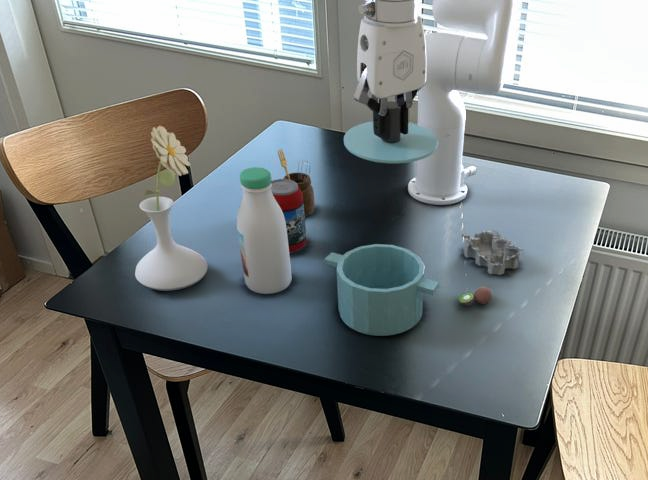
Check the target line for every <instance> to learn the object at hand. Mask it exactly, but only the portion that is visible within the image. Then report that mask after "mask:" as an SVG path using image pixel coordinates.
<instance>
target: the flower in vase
mask: <svg viewBox="0 0 648 480" xmlns="http://www.w3.org/2000/svg"><path fill="white" fill-rule="evenodd" d="M150 134H151V137H152V138H150V141H151V144H152V149H153V150H154V152H155V155H156V156H157V157H156V158H158V159H159V163H158V167H157V175H156V190H149V189H146V191H145V193H143V194H144V196H147V195H155V196H152V197H148V198H146V199H143V200H142V201H141V202H140V203H139V209H140V210H142V211H143V212H144V213H145V214H146V215H147V216H148V217H149V219H150V221H151V223H152V225H153V228H154V232H155V234H156V235H155V237H156V246H155V247H154V248H153V249H151V250H150V251H148V253H146V254H145V255H144V256H143V257H142V258H140V260H139V261H138V263H137V264H136V266H135V271H134V277H135V279H136V280H137V281H138V282H139V283H140V284H141V285H143V286H144V287H145V288H148V289H150V290H155V291H162V292H164V291H167V292H168V291H177V290H178V291H179V290H182V289H185V288H188V287H191V286H193V285H195V284H197V283H198V282H200V281H201V280H202V279H203V278H204V277H205V275H206V273H207V272H208V266H209V265H208V263H207V261H206V259H205V258H204V256H203V255H202V254H200V253H199V252H197V251H195V250H193V249H192V248H189V247H186V246H183V245H181V244H179V243H177V242H176V241H174V239H173V236H172V231H171V225H170V215H171V211H172V208H173V207H174V204H175V201H174V200H173V199H172V198H171V197H170V198H169V197H167V196H160V193H161V192H162V190H160V183H161V185H163V186H166V187H167V188H171V187H172V186H173V185H174V184H175V181H176V177H177V176H180V177H182V176H185V175H188V174H189V171H188V169H187V167H191V163H190V161H189V157H188V156H187V155H186V154H185V153H186V152H187V149H186V148H185V147H186V146H183V145H181V141H180V140H179V139H177V138H176V135H175V133H174V132H168V130H167V129H166V127H164V126H161V125H158V126H157V127H155V126H153V127H152V131H150ZM162 167H164V168H166V170H165V169H164V170H161V169H162Z"/></svg>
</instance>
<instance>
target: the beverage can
mask: <svg viewBox="0 0 648 480" xmlns="http://www.w3.org/2000/svg"><path fill="white" fill-rule="evenodd" d="M271 183H272V187H271V191H272V194H273V196H274V198H275V200H276V202H277V203H278V205H279V206H280V208H281V210H282V212H283V215H284V218H285V222H286V229H287V237H288V246H289V254H291V253H295V252H298V251H299V250H301V249H303V248H304V247H306V244H307V229H306V216H305V215H304V204H303V194H302V191H301V190H300V189H299V187H298V184H297V183H296V182H294V181H292V180H289V179H284V178H277V179H273V180H271Z"/></svg>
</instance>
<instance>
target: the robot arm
mask: <svg viewBox="0 0 648 480" xmlns="http://www.w3.org/2000/svg"><path fill="white" fill-rule="evenodd" d="M418 7H419V0H363V3H362V4H358V9H357V10H358V13H359V15H361V16H363V18H362V19H361V20H360V24H359V25H360V26H359V31H358V38H357V39H358V41H357V54H356V56H357V57H356V60H357V61H356V78H357V86H356V89H355V91H354V94H353V100H354V101H356V102H358V103H360V104H362V105H365V106H366V107H367V108H369V110H370V111H372V121H373V130H374V134H375V135H376V136H378V137H380V138H381V139H383V140H385V141H386V140H389V138H390V116H389V115H388V114H386V112H387V102H388V101H389V100H388V98H391V97H392V98H393V97H394V100H395V101H394V102H397V103H399V104H400V105H401V133H402V134H404V135H405V134H408V122H409V110H410V109H412V107H413V101H414V99H415V98H416V96H417V122H416V123H417V124H416V125H419V126H422V127H424V128H426V129H428V130H430V131H431V132H432V133H433V134H434V135H435V136H436V138H437V141H438V145H437V149H436V150H435V152H434V153H432V154H431V155H430V156H428V157H426V158H424V159H421V160H418V161H415V177H413V178H411V180H410V181H409V182H408V184H407V191H408V193H409V195H410V196H411V197H412V198H414V199H415V200H417V201H418V202H420V203H421V202H422V203H425V204H428V205H434V206H446V205H447V206H448V205H452V204H456V203H459V202H461V201H463V200H464V199H465V198H466V197H467V194H468V187H467V185H466V183H465V180H467V178H468V177H469V178H470V177H473V176H474V175H476V174H477V168H476V167H475V166H474V165H471V166H468V167H466V168H465V167H464V165H463V155H464V143H465V141H464V140H465V127H466V116H467V115H466V114H467V113H466V108H465V104H464V102H463V99H462V97H461V95H460V93H459V92H463V93H469V94H476V95H482V96H494V95H498V93H499V92H500V91H502V88H503V86H504V83H505V80H506V75H507V71H508V68H509V67H508V66H509V61H510V56H511V50H512V46H513V39H514V35H515V31H516V24H517V18H518V11H519V0H432V11H431V12H432V17H433V20H434V21H435V22H436V23H437V24H438V25H439V26H442V27H443V28H447V29H452V30H456V31H463V32H468V33H469V32H470V33H474V34H475V33H476V34H481V35H485V36H486V37H487V39H483V38H478V37H470V36H466V35H460V34H453V33H445V32H429V33H426V34H425V29H424V23H423V19H422V16H419V15H418V14H419V13H418V10H419V8H418ZM368 93H369V95H368Z"/></svg>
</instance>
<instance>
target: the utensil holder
mask: <svg viewBox="0 0 648 480" xmlns="http://www.w3.org/2000/svg"><path fill="white" fill-rule="evenodd" d="M277 155H278V159H279V162H280V165H281V167H282V168H284V171H285V174H286V175H285V176H284V177H283V179H289V180H292V181H294V182H296V183H297V184H298V187H299V189H300V190H301V191H302V194H303V204H304V215H305V217H309V216H311V215H313V213H314V211H315V192H314V187H313V184H312V179H311V177H310V173H311V172H310V171H311V163H310V162H309V161H308V160H305V159H303V160H301V161H299V162H298V164H301V163H302V164H301V169H300V170H303V165H304V164H307V166H309V170H308V169H305V173H304V172H299V171H297V172H290V173H289V171H288V168H287V166H288V162H287V159H286V156H285V152H284V149H283V148H280V149H279V150H277ZM297 167H298V168H297V170H299V167H300V165H298V166H297ZM307 171H308V172H309V173H308V174H307Z"/></svg>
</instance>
